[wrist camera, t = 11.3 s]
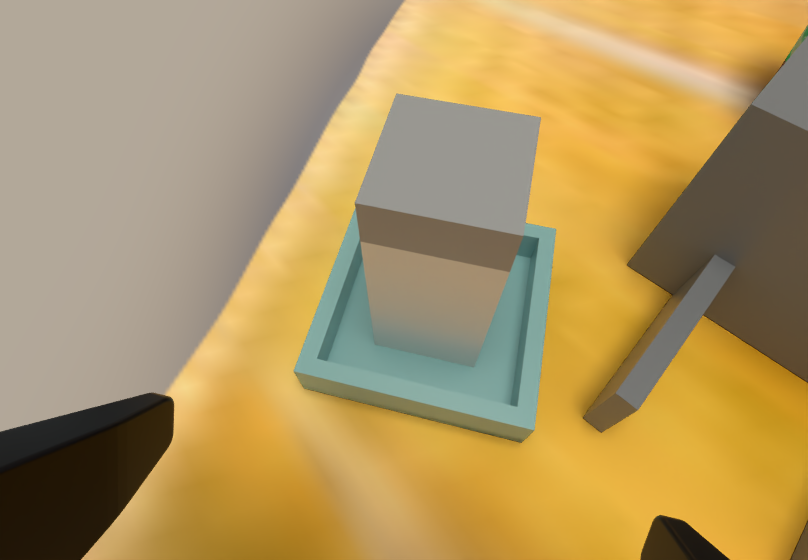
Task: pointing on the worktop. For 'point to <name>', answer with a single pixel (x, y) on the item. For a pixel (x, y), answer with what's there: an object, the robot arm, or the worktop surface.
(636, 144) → the worktop surface
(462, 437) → the worktop surface
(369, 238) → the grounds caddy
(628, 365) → the coffee machine bay
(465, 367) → the teal tray
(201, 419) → the worktop surface
